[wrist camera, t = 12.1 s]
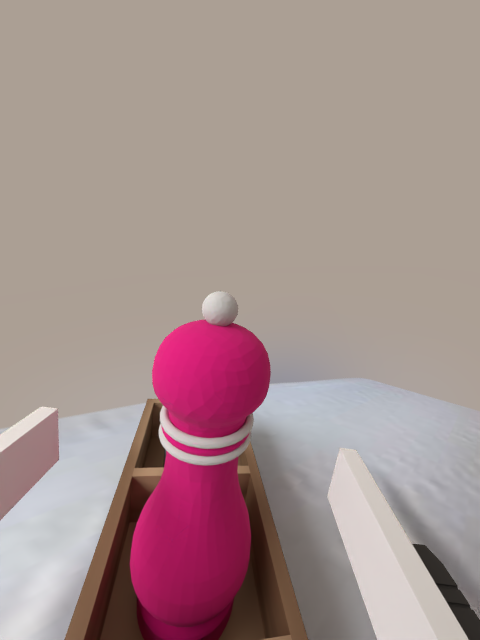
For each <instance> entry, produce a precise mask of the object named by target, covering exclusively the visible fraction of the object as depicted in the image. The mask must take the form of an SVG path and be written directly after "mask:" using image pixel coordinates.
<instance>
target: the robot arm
mask: <svg viewBox="0 0 480 640" xmlns="http://www.w3.org/2000/svg"><path fill="white" fill-rule="evenodd" d="M58 460H59V439H58V409H55V408H48V407H40V408H38V409H37V410H35V411H34V412H33V413H31V414H30V415H28V416H27V417H25V418H24V419H22V420H21V421H19V422H18V423H17V424H15V425H14V426H12V427H11V428H9V429H8V430H6V431H5V432H3V433H2V434H1V435H0V520H1V519H2V518H3V517H4V516H5V515H6V514H7V513H8V512H9V511H10V510H11V509H12V508H13V507H14V506H15V505H16V504H17V502H18V501H19V500H20V499H21V498H22V497H23V496H24V495H25V494H26V493H27V492H28V491H29V490H30V489H31V488H32V487H33V486H34V485H35V484H36V483H37V482H38V481H39V480H40V479H41V478H42V477H43V476H44V475H45V473H46V472H47V471H48V470H49V469H50V468H51V467H52V466H53V465H54V464H55V463H56V462H57V461H58ZM327 497H328V500H329V503H330V506H331V509H332V511H333V514H334V517H335V520H336V523H337V526H338V529H339V532H340V534H341V537H342V540H343V543H344V546H345V549H346V552H347V554H348V557H349V560H350V563H351V566H352V569H353V572H354V574H355V577H356V580H357V583H358V586H359V589H360V592H361V595H362V597H363V600H364V603H365V606H366V609H367V612H368V615H369V617H370V620H371V623H372V626H373V629H374V632H375V635H376V638H377V640H480V620H479V618H478V617H477V615H476V614H475V612H474V611H473V610H471V608H470V605H469V603H468V602H467V600H466V599H465V597H464V595H463V594H462V592H461V591H460V590H458V588H457V585H456V583H455V582H454V580H453V579H452V577H451V576H450V574H449V573H448V571H447V570H446V568H445V567H444V565H443V564H442V563H441V562H440V561H439V560H438V558H437V557H436V556H435V555H434V554H433V553H432V552H431V551H430V550H429V549H428V548H427V547H426V546H425V545H419V544H412V543H411V541H410V540H409V538H408V536H407V535H406V533H405V531H404V530H403V528H402V526H401V525H400V523H399V521H398V520H397V518H396V516H395V514H394V513H393V511H392V509H391V508H390V506H389V504H388V503H387V501H386V499H385V498H384V496H383V494H382V493H381V491H380V489H379V488H378V486H377V484H376V482H375V481H374V479H373V477H372V476H371V474H370V472H369V471H368V469H367V467H366V466H365V464H364V462H363V461H362V459H361V457H360V456H359V454H358V452H357V450H352V449H345V448H340V449H339V453H338V457H337V461H336V465H335V468H334V472H333V476H332V480H331V484H330V488H329V491H328V495H327Z"/></svg>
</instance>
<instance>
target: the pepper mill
mask: <svg viewBox="0 0 480 640" xmlns="http://www.w3.org/2000/svg"><path fill="white" fill-rule="evenodd" d="M202 312H203V316H204V318H205V320H199V321H194V322H190V323H187V324H184V325H182V326H180V327H178V328H177V329H175V330H174V331H173V332H171V333H170V334H169V335H168V336H167V337H166V338H165V339H164V341H163V342H162V344H161V345H160V347H159V349H158V351H157V354H156V356H155V360H154V365H153V370H152V378H153V387H154V391H155V394H156V395H157V397H158V399H159V400H160V402H161V403H162V404H163V407H162V409H161V412H160V422H161V424H160V427H159V438H160V441H161V443H162V445H163V447H164V448H165V449H166V459H165V465H164V470H163V473H162V476H161V479H160V481H159V483H158V485H157V486H156V488H155V489H154V491H153V492H152V494H151V496H150V497H149V499H148V500H147V502H146V504H145V505H144V507H143V509H142V512H141V514H140V517H139V519H138V521H137V524H136V528H135V531H134V534H133V541H132V547H131V555H130V571H131V579H132V584H133V587H134V590H135V593H136V595H137V620H138V625H139V629H140V632H141V634H142V637H143V639H144V640H218V639H219V638H220V636H221V635H222V633H223V631H224V629H225V627H226V626H227V623H228V621H229V618H230V615H231V612H232V607H233V602H234V597H235V596H236V594H237V592H238V591H239V589H240V587H241V586H242V583H243V581H244V578H245V575H246V572H247V569H248V564H249V559H250V546H251V530H250V522H249V514H248V510H247V507H246V504H245V501H244V498H243V495H242V492H241V489H240V485H239V480H238V471H237V470H238V457H239V455H241V454H242V453H243V452H244V451H245V450H246V448H247V447H248V445H249V442H250V439H251V429H252V426H253V420H254V419H253V414H252V413H253V412H254V411H255V410H256V409H257V408H258V407H259V406H260V405H261V404H262V402H263V401H264V399H265V397H266V395H267V392H268V388H269V382H270V362H269V358H268V353H267V351H266V350H265V348H264V346H263V344H262V342H261V341H260V340H259V339H258V338H257V337H256V336H255V335H254V334H253V333H252V332H250V331H249V330H247V329H246V328H244V327H242V326H239V325H237V324H234V323H232V322H233V321H234V320H235V318H236V316H237V313H238V305H237V302H236V300H235V299H234V298H233V297H232V296H231V295H230V294H228V293H226V292H221V291H220V292H214V293H212V294H210V295H209V296H208V297H207V298H206V299H205V301H204V302H203V306H202Z"/></svg>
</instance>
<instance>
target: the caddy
mask: <svg viewBox="0 0 480 640" xmlns="http://www.w3.org/2000/svg"><path fill="white" fill-rule="evenodd" d="M162 407H163V404H162V403H161V402H160V400H159V399H148V400H147V403H146V406H145V409H144V411H143V414H142V417H141V420H140V423H139V426H138V429H137V432H136V435H135V437H134V440H133V443H132V446H131V449H130V452H129V455H128V458H127V461H126V463H125V466H124V469H123V472H122V475H121V478H120V481H119V484H118V487H117V489H116V492H115V495H114V498H113V501H112V504H111V507H110V510H109V513H108V515H107V518H106V521H105V524H104V527H103V530H102V533H101V536H100V539H99V541H98V544H97V547H96V550H95V553H94V556H93V559H92V562H91V564H90V567H89V570H88V573H87V576H86V579H85V582H84V585H83V588H82V590H81V593H80V596H79V599H78V602H77V605H76V608H75V611H74V614H73V616H72V619H71V622H70V625H69V628H68V631H67V634H66V637H65V640H144V639H143V637H142V634H141V632H140V629H139V625H138V620H137V595H136V593H135V590H134V587H133V584H132V579H131V571H130V555H131V547H132V541H133V534H134V531H135V528H136V524H137V521H138V519H139V517H140V514H141V512H142V509H143V507H144V505H145V504H146V502H147V500H148V499H149V497H150V496H151V494H152V492H153V491H154V489H155V488H156V486H157V485H158V483H159V481H160V479H161V476H162V473H163V470H164V467H163V460H164V447H163V445H162V443H161V441H160V438H159V427H160V424H161V422H160V412H161V409H162ZM237 471H238V480H239V485H240V489H241V492H242V495H243V498H244V501H245V504H246V507H247V510H248V514H249V522H250V530H251V546H250V559H249V564H248V569H247V572H246V575H245V578H244V581H243V583H242V586H241V587H240V589H239V591H238V592H237V594H236V596H235V597H234V602H233V607H232V612H231V615H230V618H229V621H228V623H227V626H226V627H225V629H224V631H223V633H222V635H221V636H220V638H219V639H218V640H308V638H307V634H306V631H305V628H304V624H303V621H302V617H301V614H300V610H299V607H298V604H297V600H296V597H295V593H294V590H293V586H292V583H291V580H290V576H289V573H288V569H287V566H286V562H285V559H284V555H283V552H282V549H281V545H280V542H279V538H278V535H277V531H276V528H275V525H274V521H273V518H272V514H271V511H270V507H269V504H268V501H267V497H266V494H265V490H264V487H263V483H262V480H261V477H260V473H259V470H258V466H257V463H256V459H255V456H254V452H253V449H252V446H251V442H249V445H248V447H247V448H246V450H245V451H244V452H243V453H242V454H241V455H239V457H238V470H237Z"/></svg>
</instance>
